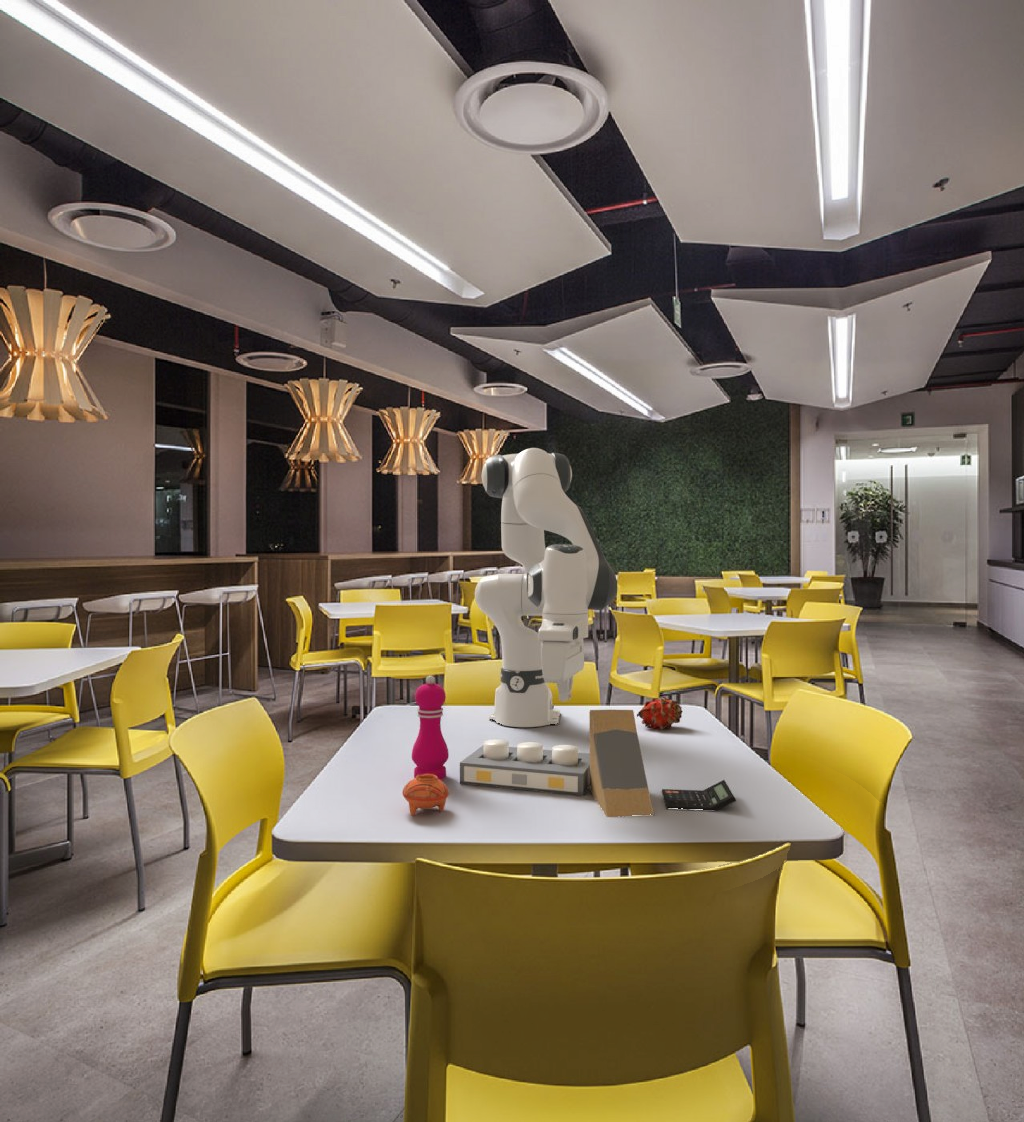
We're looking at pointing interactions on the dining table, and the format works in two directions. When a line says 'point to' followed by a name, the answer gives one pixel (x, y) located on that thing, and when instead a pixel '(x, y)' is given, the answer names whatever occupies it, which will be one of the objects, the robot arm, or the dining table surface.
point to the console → (526, 773)
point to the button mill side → (496, 749)
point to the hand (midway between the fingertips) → (565, 700)
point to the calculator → (699, 797)
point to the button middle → (530, 752)
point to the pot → (425, 793)
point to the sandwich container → (617, 764)
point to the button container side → (565, 755)
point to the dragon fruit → (660, 713)
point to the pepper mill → (430, 731)
